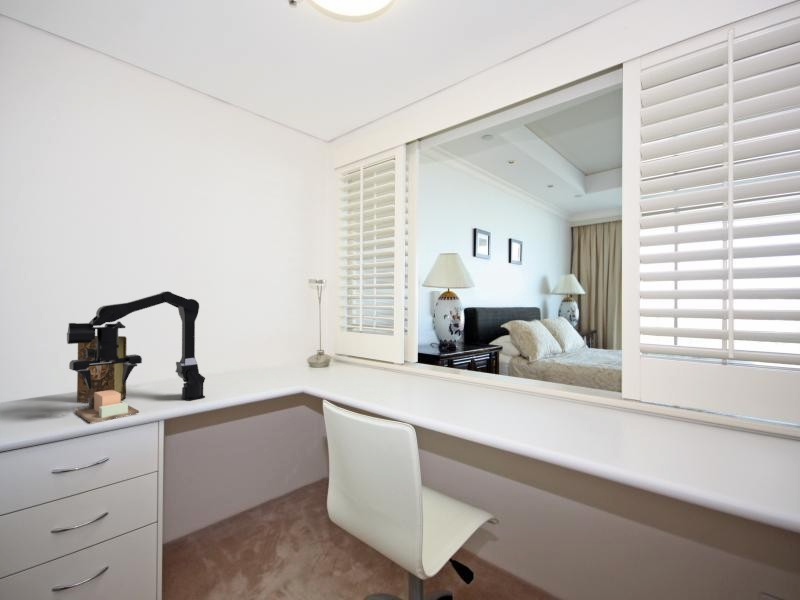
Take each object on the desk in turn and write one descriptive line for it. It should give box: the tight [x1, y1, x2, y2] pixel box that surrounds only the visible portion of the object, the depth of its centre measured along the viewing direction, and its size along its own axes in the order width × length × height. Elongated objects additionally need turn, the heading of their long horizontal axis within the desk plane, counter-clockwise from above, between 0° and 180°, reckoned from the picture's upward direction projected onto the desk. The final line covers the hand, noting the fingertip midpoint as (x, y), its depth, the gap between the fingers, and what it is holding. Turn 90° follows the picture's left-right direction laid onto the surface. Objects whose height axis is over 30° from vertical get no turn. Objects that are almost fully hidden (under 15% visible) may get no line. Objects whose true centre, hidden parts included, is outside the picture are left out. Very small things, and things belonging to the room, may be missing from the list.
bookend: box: [86, 397, 94, 409], centre depth 128 cm, size 7×2×4 cm, turn 143°
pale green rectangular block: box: [99, 401, 129, 418], centre depth 119 cm, size 7×3×3 cm, turn 143°
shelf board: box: [75, 401, 140, 424], centre depth 124 cm, size 13×18×1 cm
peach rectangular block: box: [94, 390, 122, 412], centre depth 124 cm, size 5×9×6 cm, turn 53°
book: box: [76, 335, 127, 404], centre depth 138 cm, size 16×6×25 cm, turn 84°
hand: (106, 387), depth 124 cm, fingers open, 9 cm apart
